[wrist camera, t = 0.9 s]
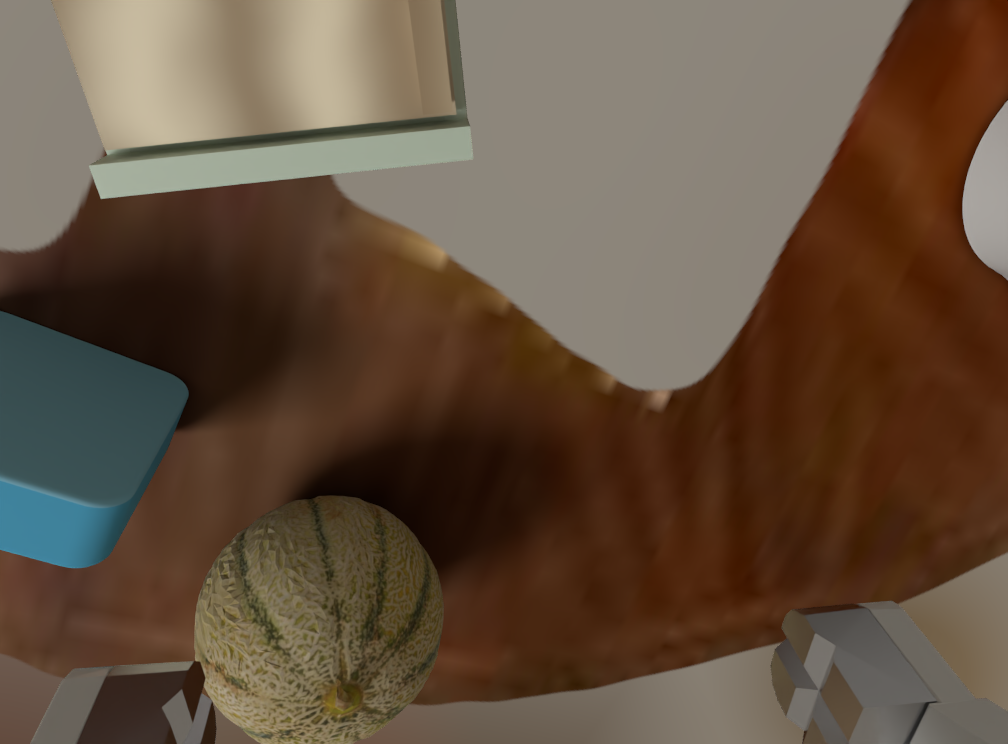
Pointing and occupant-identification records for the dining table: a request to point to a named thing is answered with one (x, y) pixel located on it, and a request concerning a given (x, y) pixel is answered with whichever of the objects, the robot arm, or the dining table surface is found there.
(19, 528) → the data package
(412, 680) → the cantaloupe
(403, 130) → the box
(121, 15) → the cover plate
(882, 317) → the dining table surface
